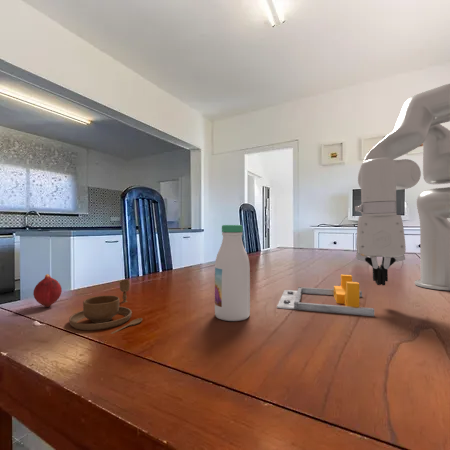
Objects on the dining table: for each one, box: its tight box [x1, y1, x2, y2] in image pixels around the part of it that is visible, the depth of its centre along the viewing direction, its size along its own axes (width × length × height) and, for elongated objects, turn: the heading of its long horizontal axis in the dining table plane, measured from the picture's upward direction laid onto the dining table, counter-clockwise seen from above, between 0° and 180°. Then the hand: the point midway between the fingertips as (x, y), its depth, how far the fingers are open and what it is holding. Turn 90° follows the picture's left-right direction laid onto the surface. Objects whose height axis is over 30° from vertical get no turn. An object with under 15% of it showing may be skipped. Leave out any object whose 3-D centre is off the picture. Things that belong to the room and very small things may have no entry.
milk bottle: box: [214, 224, 251, 322], centre depth 61 cm, size 8×8×20 cm
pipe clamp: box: [333, 274, 360, 307], centre depth 71 cm, size 12×4×6 cm, turn 164°
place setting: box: [68, 279, 143, 334], centre depth 62 cm, size 18×20×6 cm
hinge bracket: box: [276, 286, 375, 317], centre depth 73 cm, size 18×21×2 cm
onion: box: [32, 273, 62, 308], centre depth 69 cm, size 6×6×8 cm
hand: (380, 283), depth 69 cm, fingers closed
